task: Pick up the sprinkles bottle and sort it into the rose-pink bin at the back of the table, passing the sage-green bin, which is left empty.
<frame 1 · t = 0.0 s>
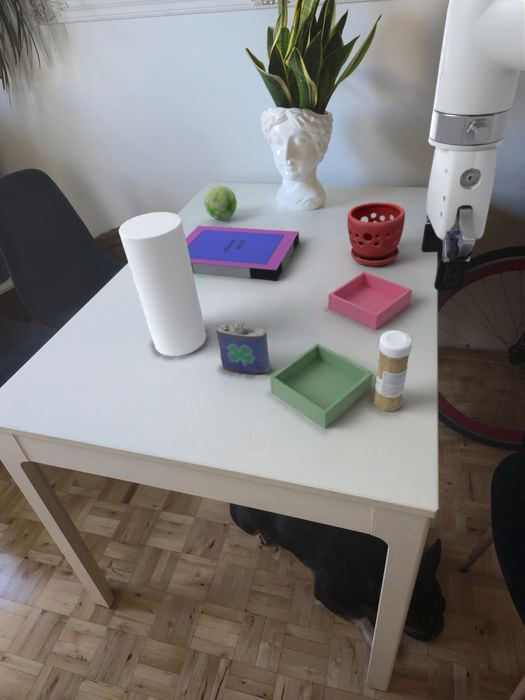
hand: (439, 268, 57), 24 cm above the table, tool pointing down, fingers open, 9 cm apart
sprinkles bottle: (387, 403, 72), on the table
book: (234, 256, 116), on the table
flower pot: (372, 258, 109), on the table
decorative ball: (223, 219, 136), on the table
green bin: (320, 390, 75), on the table
flask: (245, 369, 81), on the table
tall pillar cylinder: (180, 340, 90), on the table
pink bin: (368, 305, 93), on the table
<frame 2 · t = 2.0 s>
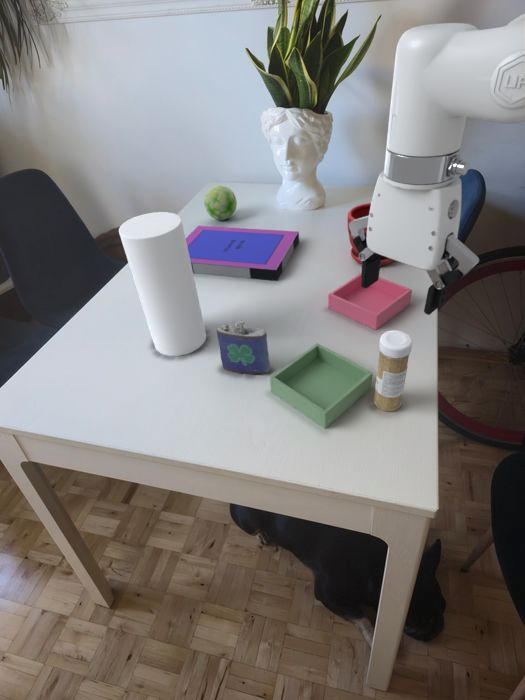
hand: (399, 296, 59), 21 cm above the table, tool pointing down, fingers open, 9 cm apart
nothing on the table moved.
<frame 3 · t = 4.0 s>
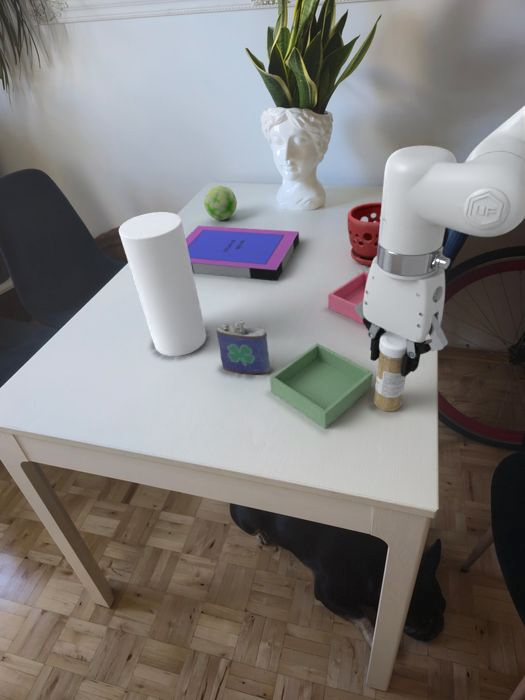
hand: (392, 362, 66), 9 cm above the table, tool pointing down, fingers closed on sprinkles bottle, 4 cm apart
sprinkles bottle: (387, 403, 72), on the table, touching gripper
everything else where it was.
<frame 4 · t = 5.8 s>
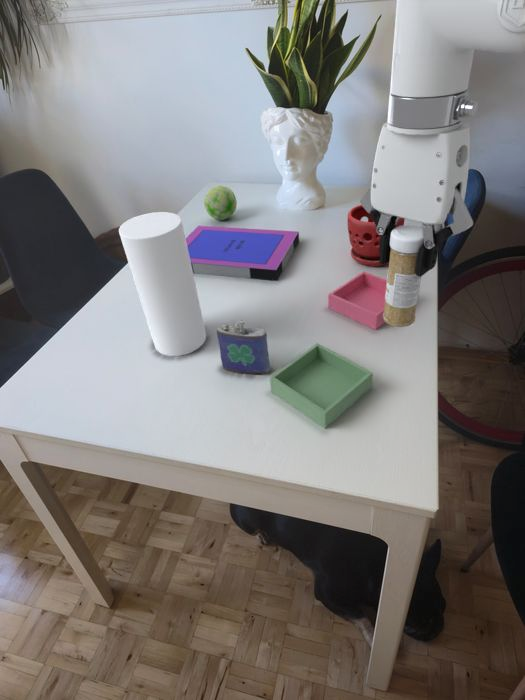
hand: (405, 264, 57), 25 cm above the table, tool pointing down, fingers closed on sprinkles bottle, 4 cm apart
sprinkles bottle: (398, 320, 63), point 16 cm above the table, touching gripper
everything else where it was.
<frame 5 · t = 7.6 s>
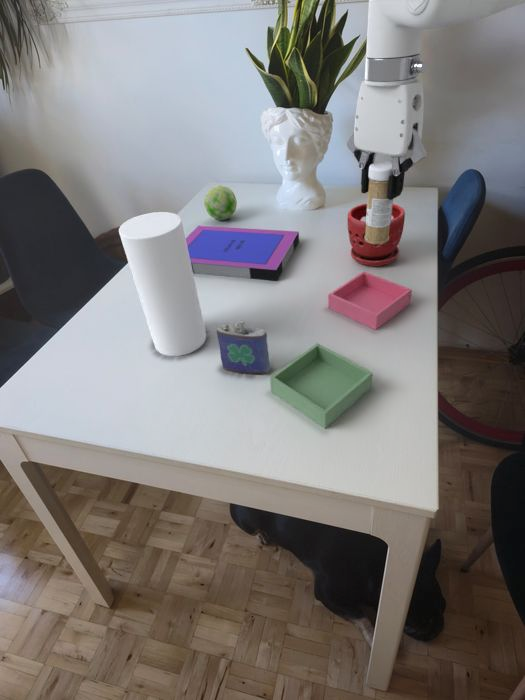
hand: (380, 192, 75), 25 cm above the table, tool pointing down, fingers closed on sprinkles bottle, 4 cm apart
sprinkles bottle: (376, 241, 81), point 16 cm above the table, touching gripper
everything else where it was.
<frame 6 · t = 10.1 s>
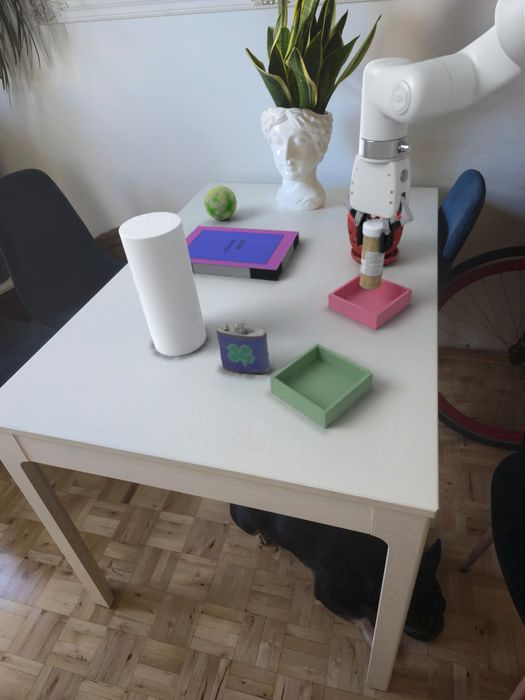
hand: (373, 245, 84), 14 cm above the table, tool pointing down, fingers closed on sprinkles bottle, 4 cm apart
sprinkles bottle: (370, 285, 90), point 5 cm above the table, touching gripper
everything else where it was.
when the fingers open (9 cm above the table, at t = 11.7 s): sprinkles bottle stays where it is, resting on pink bin.
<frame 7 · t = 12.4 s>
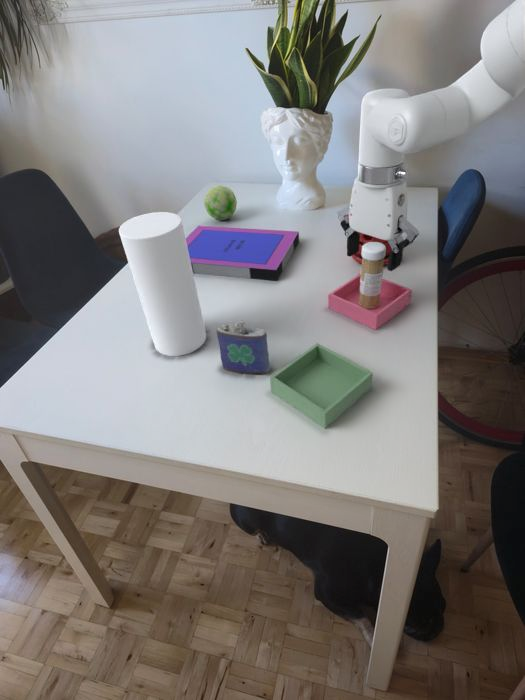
hand: (372, 260, 86), 11 cm above the table, tool pointing down, fingers open, 9 cm apart
sprinkles bottle: (369, 304, 93), resting on pink bin
everything else where it was.
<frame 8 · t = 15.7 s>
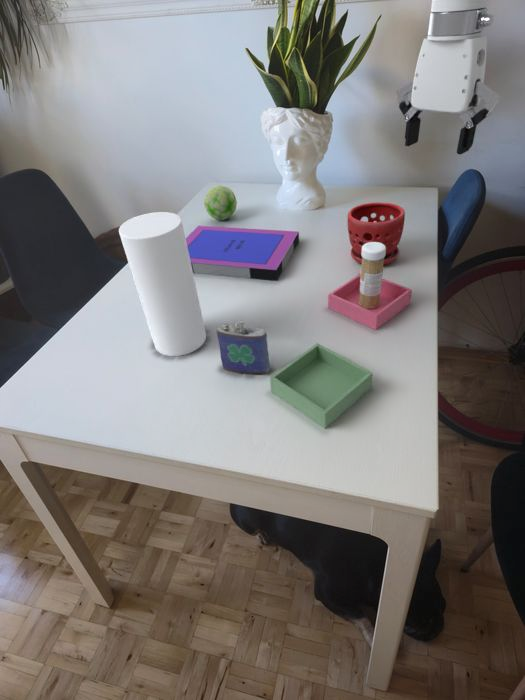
hand: (436, 148, 75), 30 cm above the table, tool pointing down, fingers open, 9 cm apart
nothing on the table moved.
at the end: sprinkles bottle inside the target area in the pink bin (0.1 cm from its centre), point 0.3 cm above the pink bin's base; sprinkles bottle tilted 0°; the gripper is holding nothing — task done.
